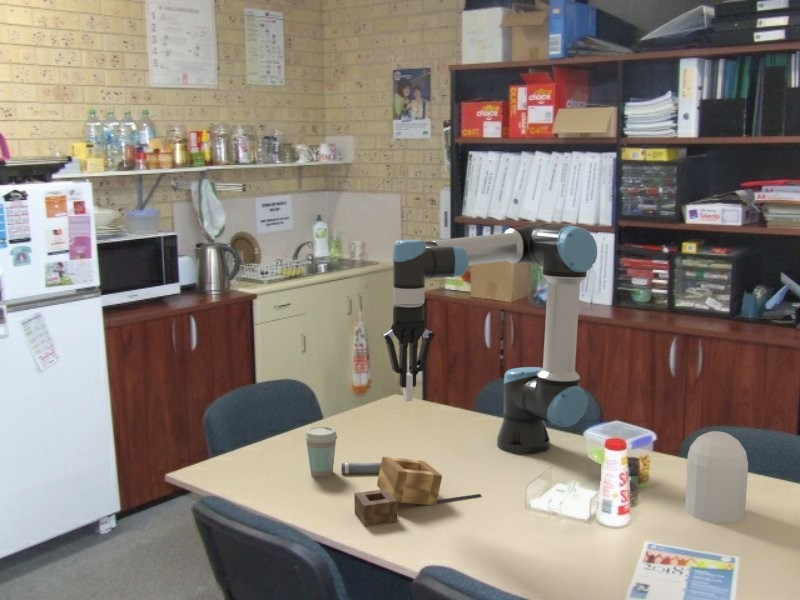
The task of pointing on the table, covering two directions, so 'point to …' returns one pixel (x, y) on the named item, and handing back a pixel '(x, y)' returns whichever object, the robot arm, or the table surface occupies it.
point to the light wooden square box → (409, 480)
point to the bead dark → (375, 507)
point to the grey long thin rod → (455, 498)
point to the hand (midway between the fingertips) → (407, 399)
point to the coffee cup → (321, 450)
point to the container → (716, 478)
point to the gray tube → (360, 468)
